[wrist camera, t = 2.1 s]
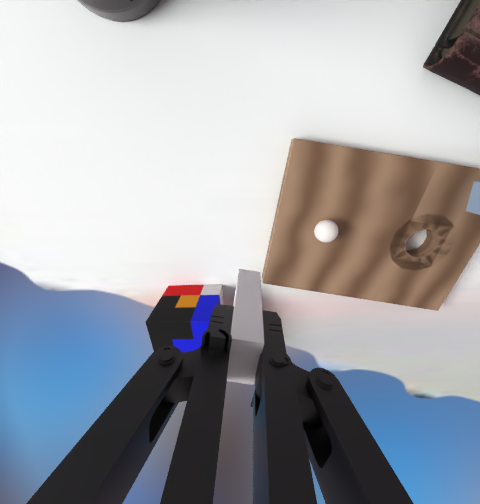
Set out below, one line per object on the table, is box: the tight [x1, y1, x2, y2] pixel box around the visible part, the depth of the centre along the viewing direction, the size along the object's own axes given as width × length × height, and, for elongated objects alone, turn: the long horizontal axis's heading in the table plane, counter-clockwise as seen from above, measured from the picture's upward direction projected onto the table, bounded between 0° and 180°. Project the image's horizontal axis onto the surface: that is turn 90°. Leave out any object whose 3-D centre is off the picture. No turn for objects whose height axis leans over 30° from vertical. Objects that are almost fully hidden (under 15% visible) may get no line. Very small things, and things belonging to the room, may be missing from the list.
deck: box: [262, 138, 480, 311], centre depth 35 cm, size 30×22×2 cm
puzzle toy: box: [146, 284, 224, 352], centre depth 40 cm, size 10×10×10 cm
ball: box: [314, 220, 338, 242], centre depth 33 cm, size 3×3×3 cm
